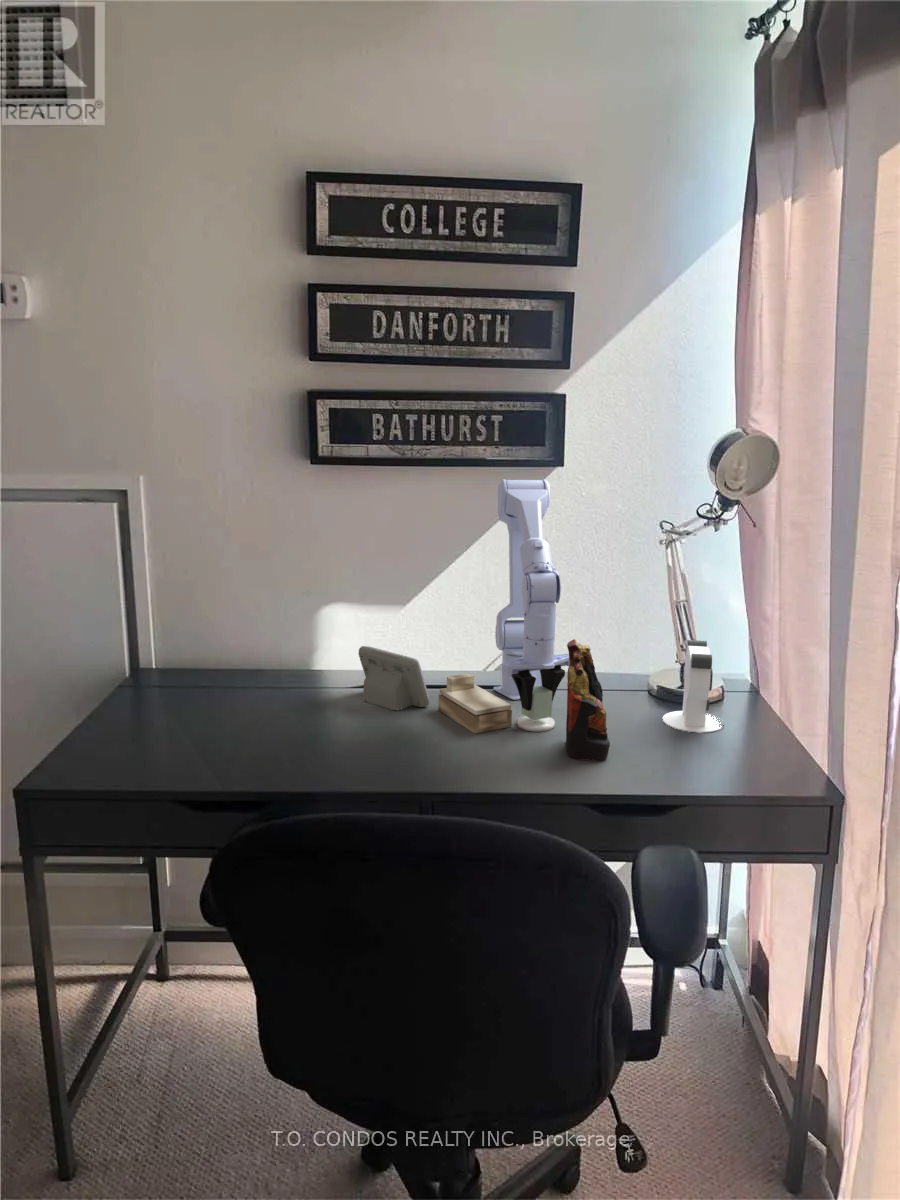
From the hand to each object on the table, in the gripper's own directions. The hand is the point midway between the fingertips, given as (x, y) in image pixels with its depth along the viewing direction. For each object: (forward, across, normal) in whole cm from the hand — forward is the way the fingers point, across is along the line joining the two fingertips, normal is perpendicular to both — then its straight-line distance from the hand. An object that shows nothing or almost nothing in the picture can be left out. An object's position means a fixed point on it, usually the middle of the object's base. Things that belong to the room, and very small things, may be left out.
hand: (536, 706), depth 168 cm
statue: (+4, +2, -14) cm, 14 cm away
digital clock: (+4, -18, +24) cm, 31 cm away
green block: (+2, 0, 0) cm, 2 cm away
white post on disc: (+4, +28, -12) cm, 30 cm away
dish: (+4, 0, 0) cm, 4 cm away
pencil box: (+4, -8, +8) cm, 13 cm away
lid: (0, -8, +8) cm, 12 cm away
